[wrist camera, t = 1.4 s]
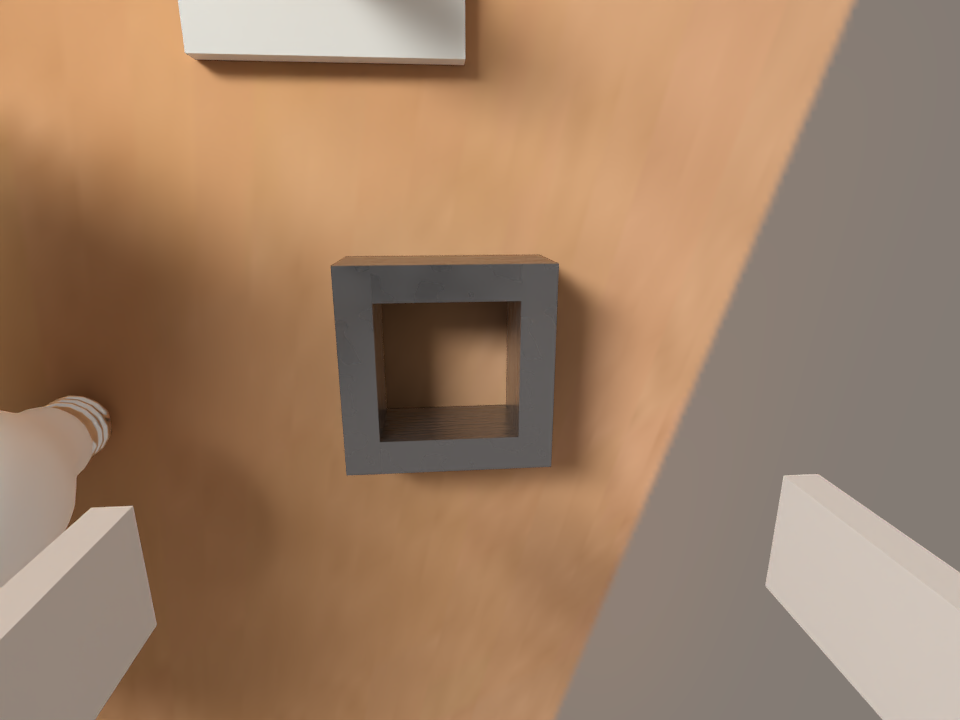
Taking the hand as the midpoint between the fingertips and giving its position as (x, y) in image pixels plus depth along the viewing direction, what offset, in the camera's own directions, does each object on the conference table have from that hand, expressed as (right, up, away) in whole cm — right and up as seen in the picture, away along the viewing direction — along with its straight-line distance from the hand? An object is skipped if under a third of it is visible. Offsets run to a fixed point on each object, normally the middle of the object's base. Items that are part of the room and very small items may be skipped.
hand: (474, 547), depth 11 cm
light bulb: (-19, +1, +15) cm, 24 cm away
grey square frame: (-2, +4, +15) cm, 16 cm away
